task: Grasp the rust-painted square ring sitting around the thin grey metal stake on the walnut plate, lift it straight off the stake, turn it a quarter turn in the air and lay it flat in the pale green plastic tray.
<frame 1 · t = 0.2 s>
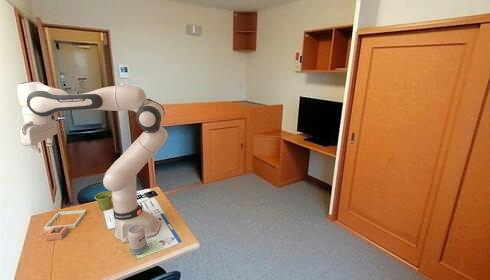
hand: (44, 149, 112), 47 cm above the table, fingers open, 8 cm apart
beverage can: (138, 250, 117), on the table
plant pot: (105, 208, 152), on the table
ring: (58, 235, 126), point 1 cm above the table, touching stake
tray: (67, 222, 138), on the table
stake: (58, 236, 126), on the table
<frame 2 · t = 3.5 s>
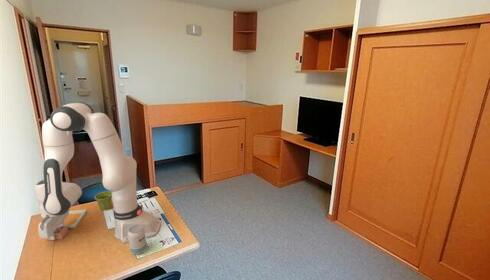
hand: (57, 234, 125), 2 cm above the table, fingers closed on ring, 6 cm apart
ring: (58, 235, 126), point 1 cm above the table, touching gripper, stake
everything else where it was.
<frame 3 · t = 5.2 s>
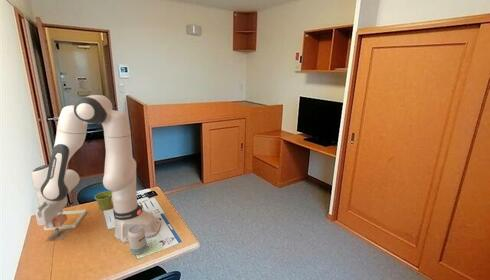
hand: (56, 222, 124), 9 cm above the table, fingers closed on ring, 6 cm apart
ring: (57, 223, 124), point 8 cm above the table, touching gripper
everything else where it was.
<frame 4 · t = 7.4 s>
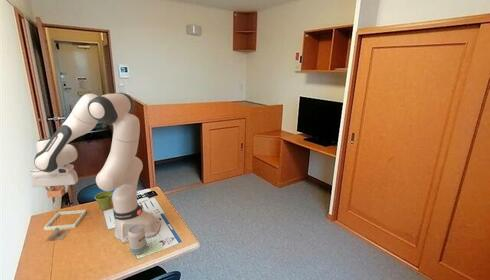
hand: (57, 192, 131), 19 cm above the table, fingers closed on ring, 6 cm apart
ring: (58, 194, 131), point 18 cm above the table, touching gripper
everything else where it was.
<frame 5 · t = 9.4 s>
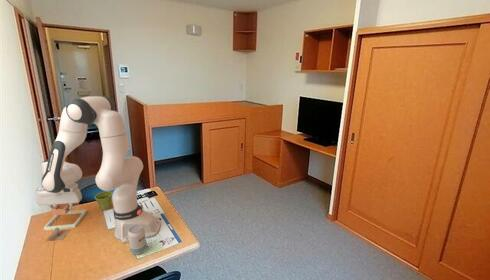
hand: (62, 210, 134), 8 cm above the table, fingers closed on ring, 6 cm apart
ring: (62, 211, 134), point 8 cm above the table, touching gripper
everything else where it was.
when the fingers open (3 cm above the table, at t = 11.1 s): ring drops 1 cm, resting on tray.
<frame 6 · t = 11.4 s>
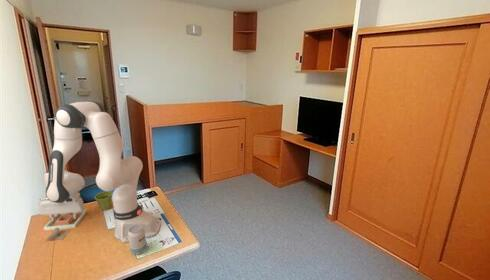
hand: (64, 219, 136), 3 cm above the table, fingers open, 8 cm apart
ring: (65, 222, 136), point 1 cm above the table, touching tray
everything else where it was.
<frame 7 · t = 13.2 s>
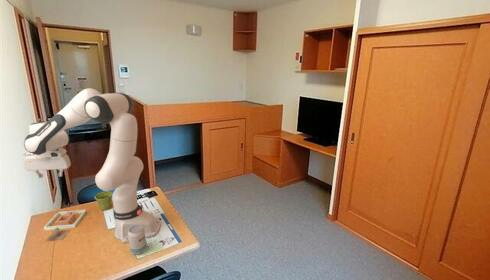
hand: (50, 176, 133), 26 cm above the table, fingers open, 8 cm apart
nothing on the table moved.
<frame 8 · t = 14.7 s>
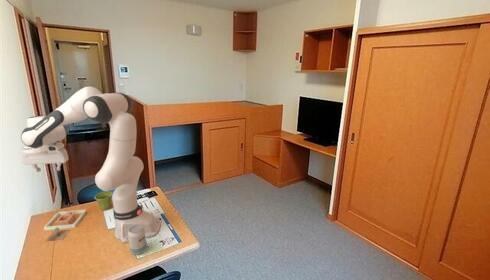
hand: (48, 170, 133), 29 cm above the table, fingers open, 8 cm apart
nothing on the table moved.
at the end: ring inside the target area on the tray (0.6 cm from its centre), point 0.6 cm above the tray's base; ring tilted 0°; the gripper is holding nothing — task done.
